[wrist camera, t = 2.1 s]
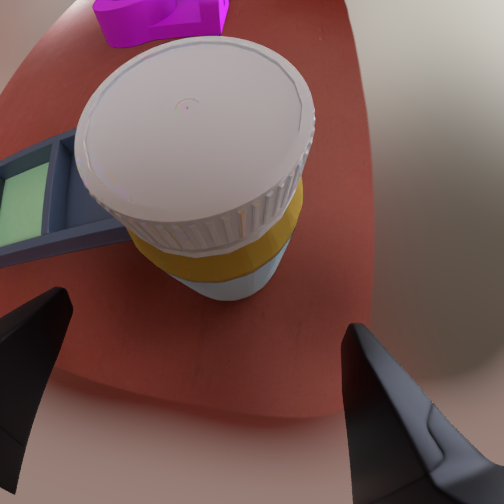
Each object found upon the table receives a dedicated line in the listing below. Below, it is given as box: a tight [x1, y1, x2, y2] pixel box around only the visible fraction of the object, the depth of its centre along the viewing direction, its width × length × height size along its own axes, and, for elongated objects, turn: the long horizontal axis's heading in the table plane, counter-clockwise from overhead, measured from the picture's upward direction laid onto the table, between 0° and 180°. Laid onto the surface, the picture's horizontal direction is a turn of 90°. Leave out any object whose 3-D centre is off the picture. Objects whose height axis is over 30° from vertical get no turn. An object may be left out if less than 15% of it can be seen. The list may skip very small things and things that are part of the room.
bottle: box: [74, 36, 315, 301], centre depth 14 cm, size 7×7×15 cm
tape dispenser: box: [93, 0, 229, 48], centre depth 25 cm, size 16×10×6 cm, turn 87°
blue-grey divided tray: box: [0, 128, 132, 268], centre depth 20 cm, size 10×19×3 cm, turn 99°
